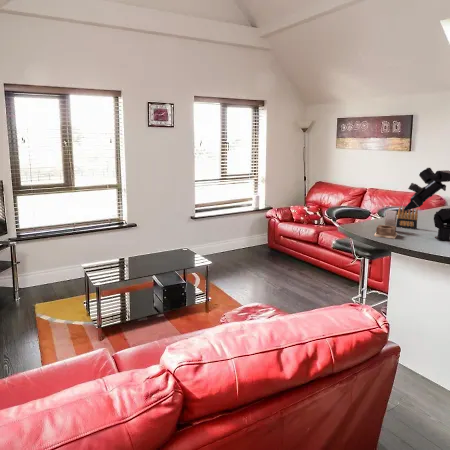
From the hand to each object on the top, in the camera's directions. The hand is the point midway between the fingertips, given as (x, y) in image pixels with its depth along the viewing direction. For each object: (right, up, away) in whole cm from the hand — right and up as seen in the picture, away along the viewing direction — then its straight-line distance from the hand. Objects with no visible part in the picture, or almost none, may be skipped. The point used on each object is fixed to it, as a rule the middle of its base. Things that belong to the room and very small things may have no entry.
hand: (405, 208), depth 228 cm
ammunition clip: (+7, -10, +15) cm, 19 cm away
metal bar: (-6, -12, +6) cm, 14 cm away
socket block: (-12, -14, -5) cm, 19 cm away
